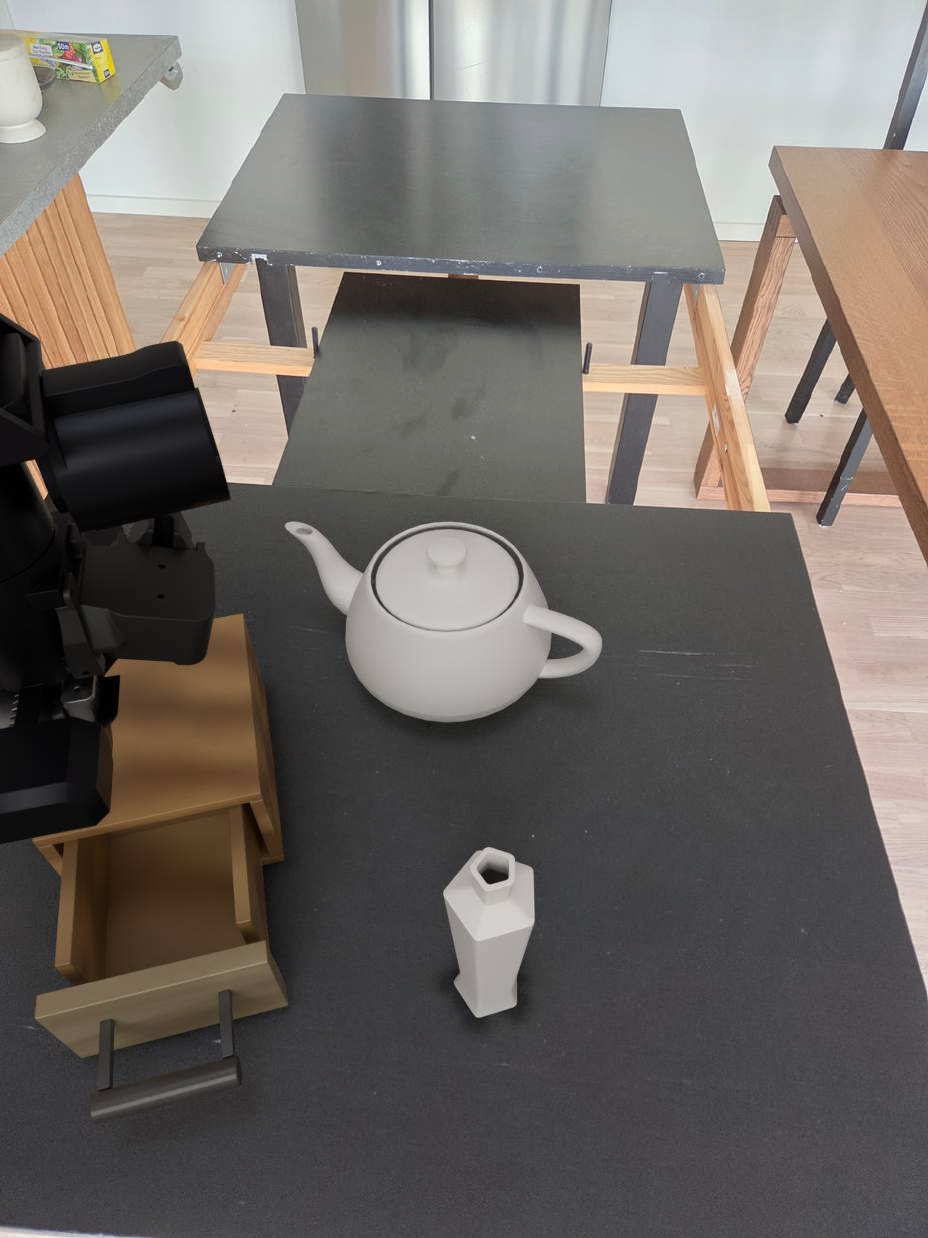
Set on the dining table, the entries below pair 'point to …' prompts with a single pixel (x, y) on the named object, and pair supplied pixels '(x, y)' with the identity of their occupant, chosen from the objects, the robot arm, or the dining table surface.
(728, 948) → the dining table surface
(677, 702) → the dining table surface
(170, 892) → the drawer
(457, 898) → the white faceted vase
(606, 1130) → the dining table surface
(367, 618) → the teapot
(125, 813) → the cabinet
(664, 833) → the dining table surface
